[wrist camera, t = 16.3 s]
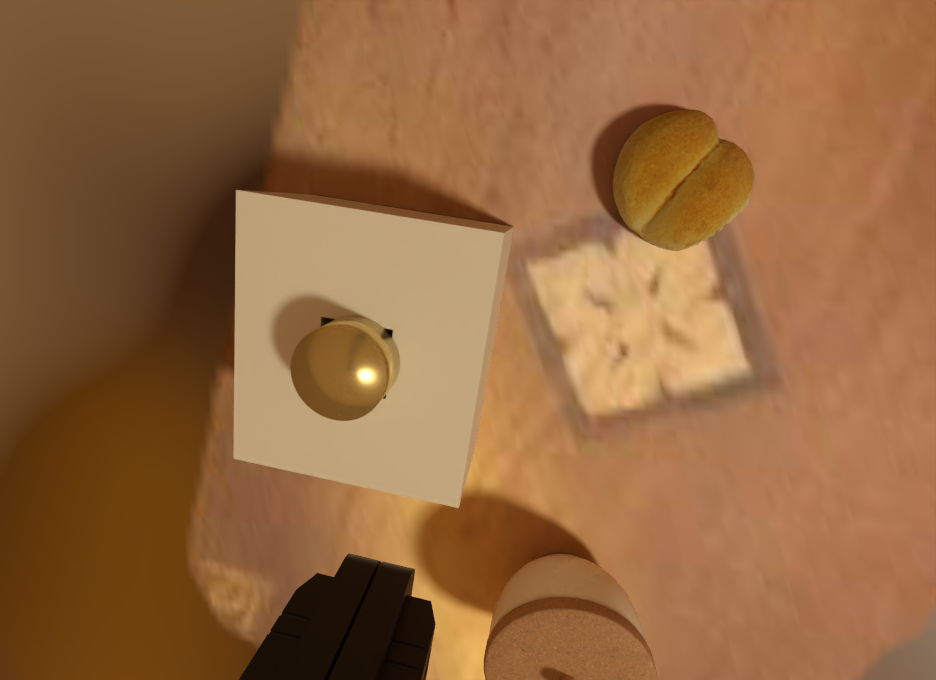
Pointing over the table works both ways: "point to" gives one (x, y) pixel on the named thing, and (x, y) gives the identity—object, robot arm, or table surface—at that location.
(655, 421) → the table surface
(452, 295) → the pin block
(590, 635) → the lidded bowl
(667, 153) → the bread roll
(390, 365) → the brass-head pin
